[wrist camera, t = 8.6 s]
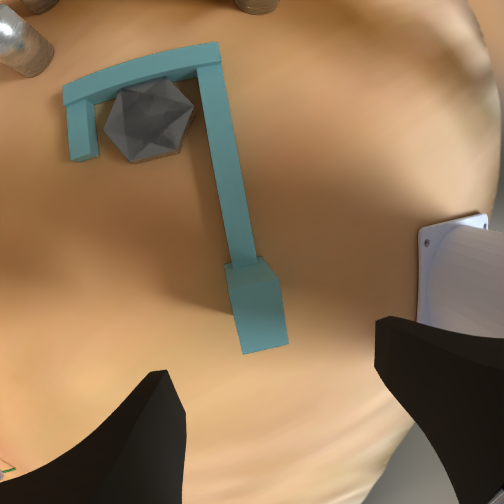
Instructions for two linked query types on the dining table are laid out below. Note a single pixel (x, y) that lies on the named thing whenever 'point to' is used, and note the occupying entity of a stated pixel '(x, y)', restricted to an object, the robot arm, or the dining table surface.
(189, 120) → the grey flat hexagonal block
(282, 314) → the hook tool
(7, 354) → the dining table surface
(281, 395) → the dining table surface
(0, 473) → the lily
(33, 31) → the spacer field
